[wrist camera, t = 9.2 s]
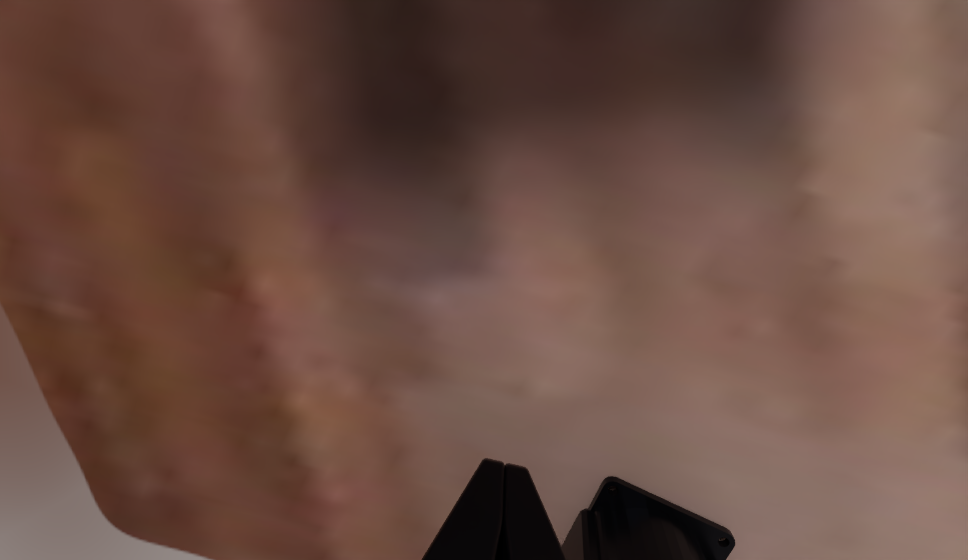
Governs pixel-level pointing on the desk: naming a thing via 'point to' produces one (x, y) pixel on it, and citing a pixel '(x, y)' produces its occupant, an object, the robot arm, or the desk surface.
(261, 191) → the desk surface
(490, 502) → the robot arm
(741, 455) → the desk surface
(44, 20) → the desk surface
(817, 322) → the desk surface
